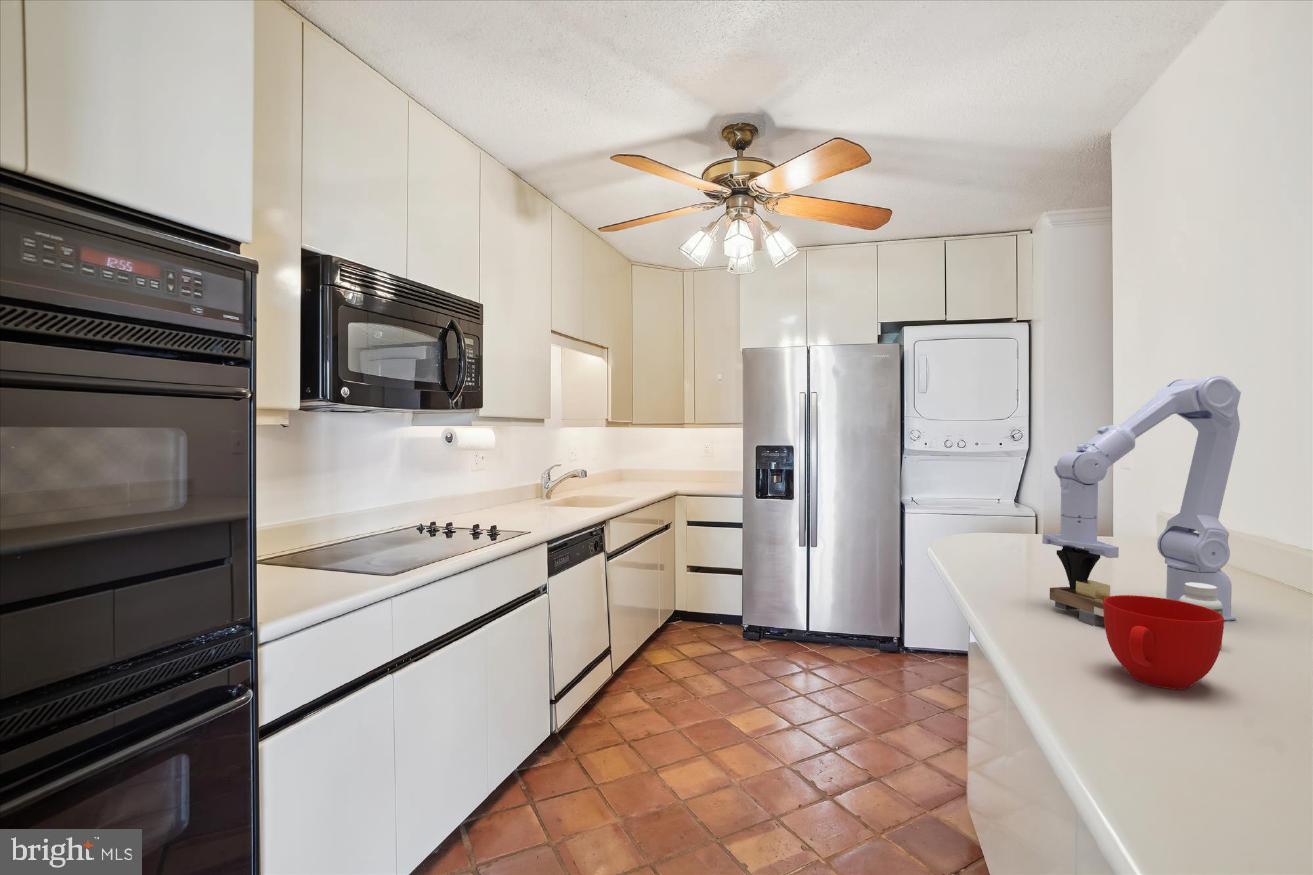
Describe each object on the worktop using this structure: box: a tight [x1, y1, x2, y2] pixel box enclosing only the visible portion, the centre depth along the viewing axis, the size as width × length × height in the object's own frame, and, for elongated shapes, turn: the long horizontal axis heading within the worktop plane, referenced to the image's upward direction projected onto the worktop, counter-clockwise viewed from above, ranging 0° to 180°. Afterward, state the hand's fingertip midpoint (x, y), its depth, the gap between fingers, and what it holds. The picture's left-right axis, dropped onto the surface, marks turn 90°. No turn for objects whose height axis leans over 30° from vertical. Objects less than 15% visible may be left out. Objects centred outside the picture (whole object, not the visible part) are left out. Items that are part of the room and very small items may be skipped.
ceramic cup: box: [1103, 594, 1225, 690], centre depth 86 cm, size 13×17×10 cm
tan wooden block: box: [1076, 579, 1111, 602], centre depth 115 cm, size 3×4×3 cm
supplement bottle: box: [1179, 582, 1223, 647], centre depth 102 cm, size 5×5×10 cm
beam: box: [1049, 586, 1105, 626], centre depth 113 cm, size 7×17×4 cm, turn 13°
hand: (1077, 589), depth 119 cm, fingers closed
